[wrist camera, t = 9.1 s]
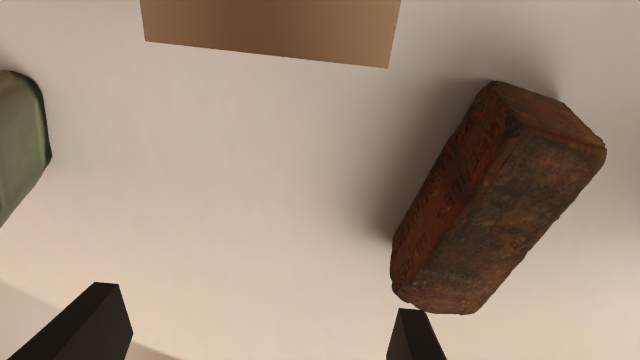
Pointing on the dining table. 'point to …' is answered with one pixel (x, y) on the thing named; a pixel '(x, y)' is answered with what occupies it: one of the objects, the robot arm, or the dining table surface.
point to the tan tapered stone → (20, 140)
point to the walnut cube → (279, 27)
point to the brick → (491, 198)
